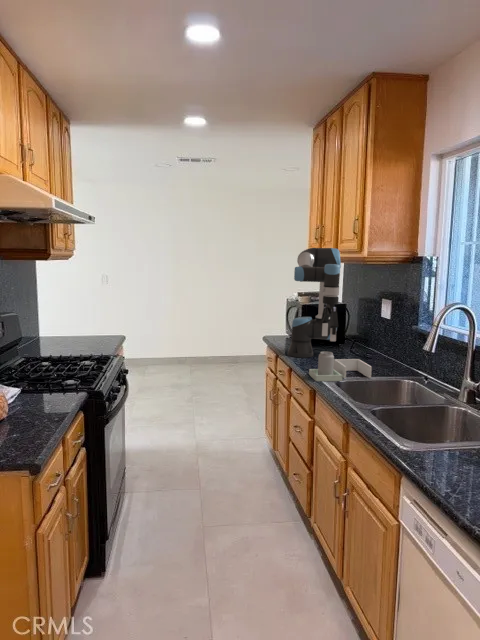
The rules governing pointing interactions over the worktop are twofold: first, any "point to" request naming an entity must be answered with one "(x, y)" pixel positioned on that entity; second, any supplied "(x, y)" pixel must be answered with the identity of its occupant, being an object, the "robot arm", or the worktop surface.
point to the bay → (352, 367)
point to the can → (325, 363)
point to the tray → (325, 376)
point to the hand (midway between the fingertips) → (328, 338)
